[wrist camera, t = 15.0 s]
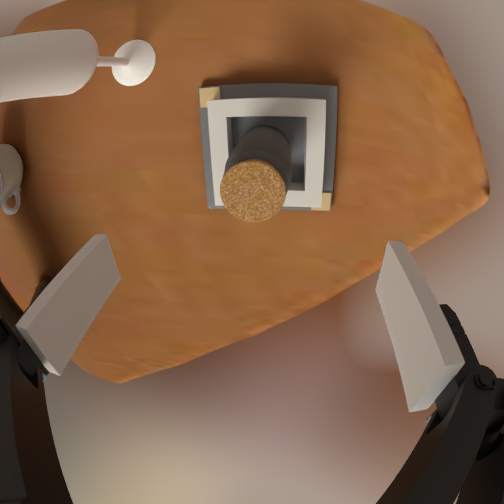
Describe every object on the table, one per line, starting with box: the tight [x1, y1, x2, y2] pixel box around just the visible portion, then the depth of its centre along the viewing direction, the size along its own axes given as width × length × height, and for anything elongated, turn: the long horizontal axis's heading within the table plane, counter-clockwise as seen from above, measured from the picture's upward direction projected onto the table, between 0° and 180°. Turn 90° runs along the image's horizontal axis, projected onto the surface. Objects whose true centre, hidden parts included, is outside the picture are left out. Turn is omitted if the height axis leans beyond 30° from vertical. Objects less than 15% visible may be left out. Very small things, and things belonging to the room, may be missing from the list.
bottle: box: [220, 126, 292, 222], centre depth 26 cm, size 6×6×15 cm
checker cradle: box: [198, 83, 337, 211], centre depth 32 cm, size 16×16×4 cm
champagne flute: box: [0, 29, 156, 103], centre depth 18 cm, size 7×7×24 cm
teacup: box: [0, 144, 23, 215], centre depth 34 cm, size 14×11×8 cm
